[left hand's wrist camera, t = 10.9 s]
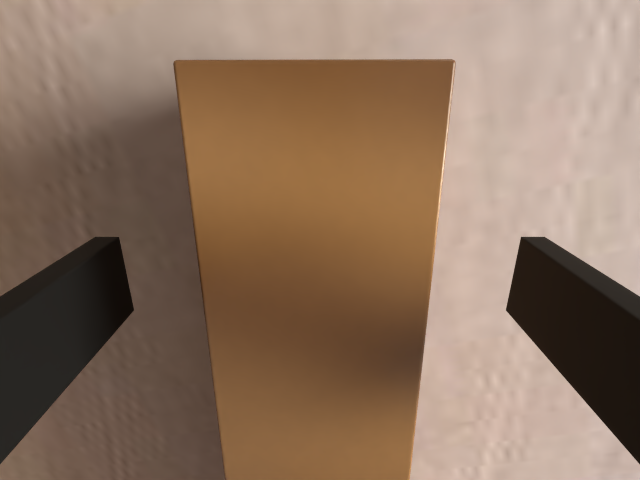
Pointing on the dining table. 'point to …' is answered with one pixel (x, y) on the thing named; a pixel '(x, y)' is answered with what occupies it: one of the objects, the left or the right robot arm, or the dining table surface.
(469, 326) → the dining table surface
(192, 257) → the dining table surface
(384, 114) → the beam
